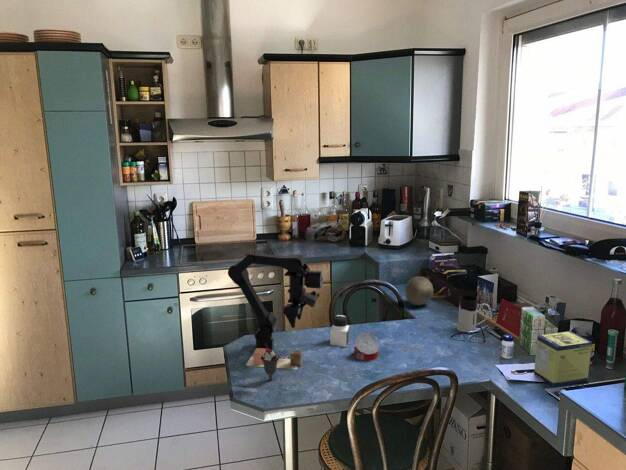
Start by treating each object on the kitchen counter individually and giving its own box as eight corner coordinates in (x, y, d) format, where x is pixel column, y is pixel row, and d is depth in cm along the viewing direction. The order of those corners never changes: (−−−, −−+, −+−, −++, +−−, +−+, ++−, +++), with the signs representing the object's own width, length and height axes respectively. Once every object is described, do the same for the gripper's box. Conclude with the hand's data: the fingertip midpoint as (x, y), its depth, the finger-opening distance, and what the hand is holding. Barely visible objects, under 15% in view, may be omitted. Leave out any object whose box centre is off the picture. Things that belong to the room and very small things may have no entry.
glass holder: (460, 324, 241) (462, 293, 238) (491, 330, 233) (493, 299, 230) (453, 329, 234) (455, 298, 231) (485, 337, 226) (487, 304, 223)
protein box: (588, 381, 187) (593, 341, 184) (553, 387, 183) (557, 346, 180) (566, 368, 197) (571, 330, 194) (532, 374, 193) (536, 335, 190)
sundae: (261, 379, 189) (260, 341, 185) (279, 378, 189) (279, 340, 186) (261, 388, 182) (260, 348, 179) (279, 387, 183) (279, 348, 180)
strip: (245, 367, 197) (245, 353, 196) (251, 358, 205) (251, 344, 204) (299, 371, 194) (299, 357, 193) (303, 362, 202) (303, 348, 200)
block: (253, 363, 198) (253, 352, 197) (257, 358, 203) (256, 348, 202) (265, 364, 198) (264, 353, 197) (268, 359, 202) (267, 348, 201)
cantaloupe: (404, 308, 261) (405, 280, 258) (404, 299, 275) (405, 272, 272) (433, 310, 259) (434, 281, 256) (431, 301, 273) (433, 274, 269)
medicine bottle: (346, 347, 216) (347, 320, 213) (330, 346, 217) (330, 319, 215) (349, 340, 223) (349, 314, 220) (332, 339, 224) (333, 313, 222)
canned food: (375, 363, 212) (388, 344, 209) (367, 370, 203) (380, 351, 200) (353, 346, 216) (365, 327, 213) (344, 353, 207) (356, 333, 204)
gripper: (310, 295, 194) (310, 334, 197) (321, 281, 212) (320, 317, 215) (282, 293, 196) (282, 331, 200) (295, 279, 214) (294, 314, 217)
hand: (296, 323), depth 208 cm, fingers open, 9 cm apart
